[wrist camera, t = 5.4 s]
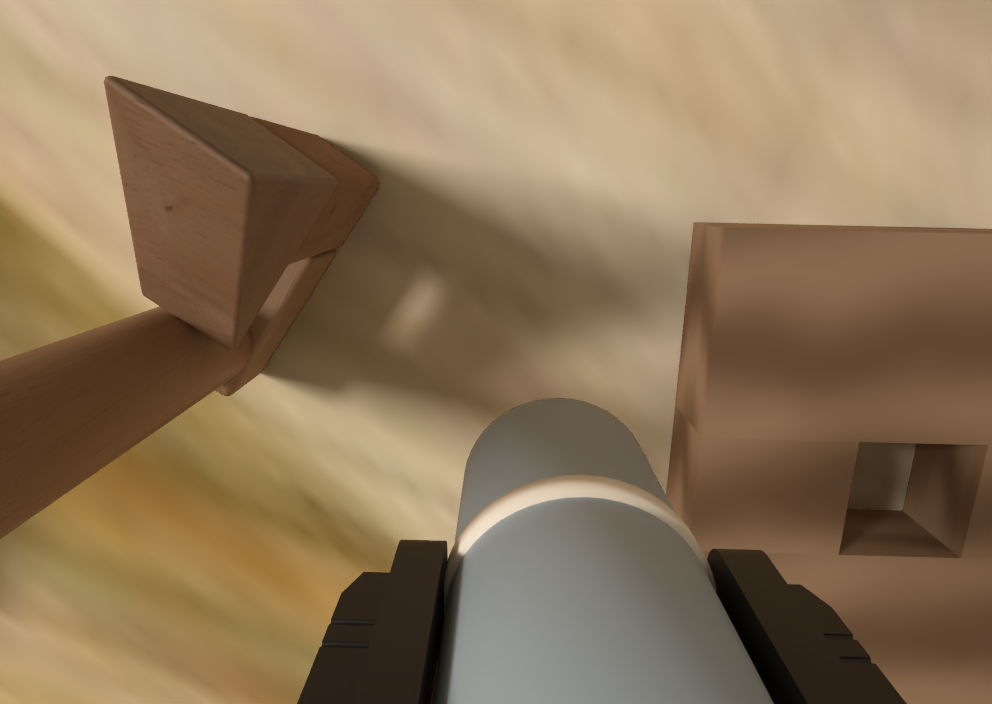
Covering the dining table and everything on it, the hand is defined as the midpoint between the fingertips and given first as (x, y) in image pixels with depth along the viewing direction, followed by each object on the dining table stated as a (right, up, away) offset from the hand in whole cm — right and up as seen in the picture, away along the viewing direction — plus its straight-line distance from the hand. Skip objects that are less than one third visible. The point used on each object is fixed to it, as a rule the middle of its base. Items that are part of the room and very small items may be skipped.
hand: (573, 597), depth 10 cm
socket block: (+16, -1, +20) cm, 26 cm away
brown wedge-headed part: (-11, +8, +18) cm, 22 cm away
